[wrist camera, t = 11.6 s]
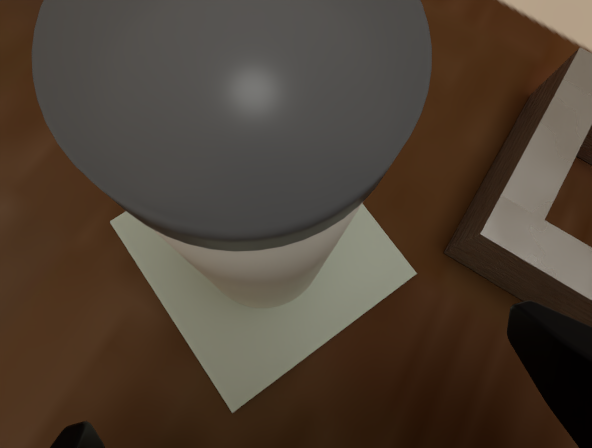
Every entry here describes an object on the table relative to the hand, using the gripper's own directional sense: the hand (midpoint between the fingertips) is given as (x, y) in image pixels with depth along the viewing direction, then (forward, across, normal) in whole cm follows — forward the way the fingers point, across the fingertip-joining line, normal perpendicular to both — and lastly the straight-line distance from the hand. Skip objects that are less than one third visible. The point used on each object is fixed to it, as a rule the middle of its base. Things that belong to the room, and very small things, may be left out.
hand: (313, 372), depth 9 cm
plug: (+9, 0, +3) cm, 9 cm away
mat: (+9, 0, +3) cm, 10 cm away
